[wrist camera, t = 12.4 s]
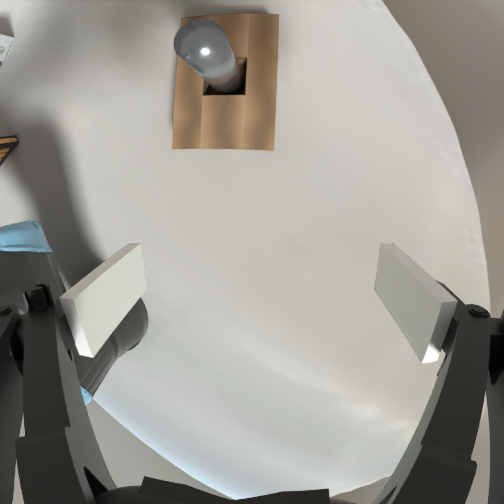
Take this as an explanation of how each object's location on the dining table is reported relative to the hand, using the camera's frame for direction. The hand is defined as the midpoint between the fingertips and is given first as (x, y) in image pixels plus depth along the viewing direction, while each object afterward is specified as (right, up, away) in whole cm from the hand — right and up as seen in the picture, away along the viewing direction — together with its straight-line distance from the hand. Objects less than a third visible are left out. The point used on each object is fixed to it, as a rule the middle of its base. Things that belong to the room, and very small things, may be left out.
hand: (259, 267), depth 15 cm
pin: (-3, +22, +17) cm, 28 cm away
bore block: (-3, +23, +18) cm, 29 cm away
